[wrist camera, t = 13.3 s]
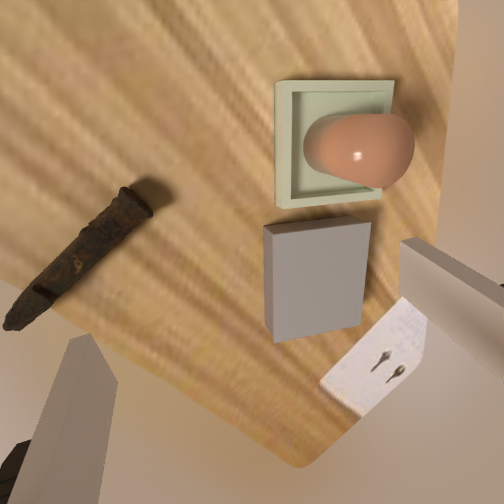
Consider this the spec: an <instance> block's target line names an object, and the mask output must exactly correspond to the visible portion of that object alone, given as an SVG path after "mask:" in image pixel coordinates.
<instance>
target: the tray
mask: <svg viewBox="0 0 504 504" xmlns="http://www.w3.org/2000/svg"><path fill="white" fill-rule="evenodd" d="M394 81H395V80H282V81H279V82H276V83H274V153H275V205H276V206H278V207H280V208H281V209H289V208H299V207H308V206H317V205H327V204H336V203H346V202H355V201H364V200H374V199H381V195H382V188H371V187H368V186H364V185H361V184H357V183H354V182H351V181H347V180H344V179H341V178H337V177H334V176H330V175H327V174H324V173H320V172H317V171H315V170H314V169H312V168H311V167H310V166H309V165H308V163H307V162H306V160H305V157H304V153H303V142H304V138H305V135H306V132H307V130H308V129H309V127H310V126H311V125H312V124H313V123H314V122H315V121H316V120H317V119H319V118H321V117H323V116H327V115H354V114H391V108H392V99H393V90H394Z"/></svg>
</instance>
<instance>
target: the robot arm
mask: <svg viewBox="0 0 504 504" xmlns="http://www.w3.org/2000/svg"><path fill="white" fill-rule="evenodd" d="M399 293H400V294H401V295H402V296H403V297H404V298H405V299H406V300H408V301H409V302H410V303H411V304H412V305H413V306H414V307H416V308H417V309H418V310H419V311H420V312H421V313H422V314H424V315H425V316H426V317H427V318H428V319H429V320H431V321H432V322H433V323H434V324H435V325H436V326H437V327H439V328H440V329H441V330H442V331H443V332H444V333H445V334H447V335H448V336H449V337H450V338H451V339H453V340H454V341H455V342H456V343H457V344H458V345H460V346H461V347H462V348H463V349H464V350H465V351H466V352H467V353H468V354H470V355H471V356H472V357H473V358H474V359H475V360H476V361H478V362H479V363H480V364H481V365H482V366H484V367H485V368H486V369H487V370H488V371H489V372H490V373H491V374H493V375H494V376H495V377H496V378H497V379H498V380H500V381H501V382H502V383H503V384H504V284H501V285H498V284H496V283H495V282H493V281H491V280H490V279H488V278H486V277H485V276H483V275H481V274H479V273H478V272H476V271H474V270H473V269H471V268H469V267H467V266H466V265H464V264H462V263H461V262H459V261H457V260H456V259H454V258H452V257H450V256H449V255H447V254H445V253H444V252H442V251H440V250H438V249H437V248H435V247H433V246H432V245H430V244H428V243H426V242H425V241H423V240H421V239H420V238H418V237H413V238H409V239H406V240H403V241H400V265H399ZM117 384H118V381H117V379H116V378H115V376H114V374H113V372H112V371H111V369H110V367H109V365H108V363H107V362H106V360H105V358H104V357H103V355H102V353H101V351H100V349H99V347H98V346H97V344H96V342H95V341H94V339H93V337H92V335H91V333H90V334H87V335H83V336H80V337H77V338H73V339H70V341H69V343H68V346H67V349H66V352H65V354H64V357H63V359H62V362H61V364H60V367H59V370H58V372H57V375H56V377H55V380H54V383H53V385H52V388H51V391H50V393H49V396H48V398H47V401H46V404H45V406H44V409H43V411H42V414H41V417H40V419H39V422H38V424H37V427H36V430H35V432H34V435H33V437H32V439H31V440H28V441H24V442H21V443H18V444H17V445H16V446H15V447H14V449H13V450H12V452H11V453H10V454H9V455H8V457H7V458H6V459H5V461H4V462H3V463H2V465H1V468H0V504H98V500H99V495H100V488H101V482H102V476H103V470H104V464H105V457H106V452H107V446H108V439H109V433H110V427H111V420H112V415H113V408H114V403H115V397H116V390H117Z"/></svg>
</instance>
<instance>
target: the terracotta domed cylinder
mask: <svg viewBox="0 0 504 504" xmlns="http://www.w3.org/2000/svg"><path fill="white" fill-rule="evenodd" d="M414 146H415V143H414V135H413V131H412V128H411V126H410V125H409V123H408V122H407V121H406V120H405V119H404V118H403V117H401V116H399V115H396V114H354V115H327V116H323V117H321V118H319V119H317V120H316V121H315V122H314V123H313V124H312V125H311V126H310V127H309V129H308V130H307V132H306V135H305V138H304V142H303V153H304V157H305V160H306V162H307V163H308V165H309V166H310V167H311V168H312V169H314V170H315V171H317V172H320V173H324V174H327V175H330V176H334V177H337V178H341V179H344V180H347V181H351V182H354V183H357V184H361V185H364V186H368V187H371V188H385V187H388V186H390V185H392V184H393V183H395V182H396V181H397V180H399V179H400V178H401V177H402V176H403V174H404V173H405V172H406V170H407V169H408V167H409V165H410V163H411V160H412V157H413V153H414Z"/></svg>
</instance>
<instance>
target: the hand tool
mask: <svg viewBox="0 0 504 504" xmlns="http://www.w3.org/2000/svg"><path fill="white" fill-rule="evenodd" d="M151 217H153V211H152V210H151V208H150V207H149V206H148V205H147V204H146V203H145V201H144V200H143V199H142V198H141V197H140V196H138V195H137V194H136V193H135V192H134V191H133V190H132V189H129V188H128V187H121V188H120V190H119V194H118V197H116V198H114V199H113V200H112V203H111V205H110V206H109V207H107V208H106V209H105V210H104V211H103V212H101V213H100V214H99V215H98V216H97V217H96V218H95V219H94V220H92V221H91V222H90V223H88V224H89V225H88V226H87V227H85V228H83V229H82V230H81V231H80V233H79V236H78V237H77V238H76V239H75V240H74V241H73V242H72V243H71V244H70V245H69V246H68V247H67V248H66V249H65V250H64V251H63V252H62V253H61V254H60V255H59V256H58V257H57V258H56V259H55V260H54V261H53V262H52V263H51V264H50V265H49V266H48V267H47V268H46V269H45V270H44V271H43V272H42V273H41V274H40V275H38V276H37V277H36V278H35V279H34V280H33V281H32V282H31V283H30V285H29V286H28V287H27V288H26V289H25V290H24V291H23V292H22V294H21V295H20V296H19V297H18V299H17V300H16V301H15V303H14V304H13V307H12V308H11V309H10V311H9V312H8V313H7V314H6V317H5V322H4V324H3V329H4V330H5V331H11V330H15V331H20V330H22V329H23V328H24V327H25V326H27V325H28V324H30V323H31V322H32V321H34V320H35V318H36V317H38V316H39V315H41V314H42V313H43V312H45V311H46V310H47V309H49V308H50V307H51V305H52V304H53V302H54V301H55V300H56V299H57V298H58V297H60V296H61V295H62V294H63V293H64V292H65V291H66V290H67V289H68V288H69V287H70V286H71V285H72V284H73V283H74V282H75V281H77V280H78V279H79V278H80V277H81V276H82V275H83V274H85V273H86V272H87V271H88V270H89V269H91V268H92V267H93V266H94V265H95V264H96V263H97V262H98V261H99V260H100V259H101V258H102V257H103V256H105V255H106V254H107V253H108V252H109V251H110V250H111V249H112V248H113V247H114V246H116V245H117V244H118V243H119V242H120V241H121V240H122V239H123V238H124V237H125V236H126V235H127V234H128V233H130V232H131V231H132V229H133V228H134V227H135V226H137V225H138V223H140V222H141V221H142V220H143V219H145V218H151Z"/></svg>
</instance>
